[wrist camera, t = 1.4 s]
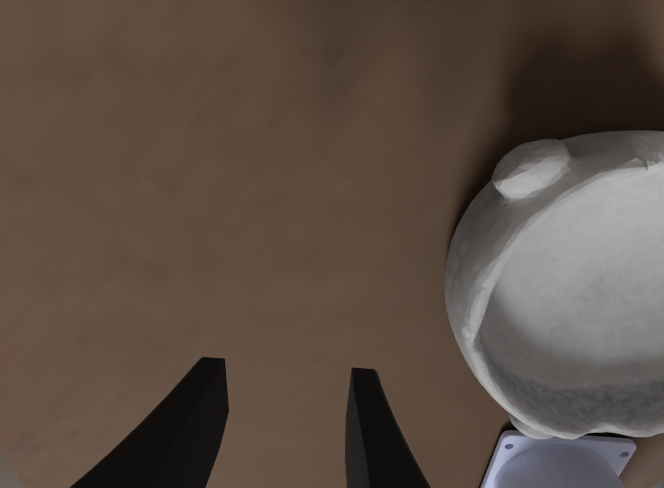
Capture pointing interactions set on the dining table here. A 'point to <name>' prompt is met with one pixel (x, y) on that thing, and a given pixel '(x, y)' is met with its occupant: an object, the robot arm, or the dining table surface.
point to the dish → (567, 285)
